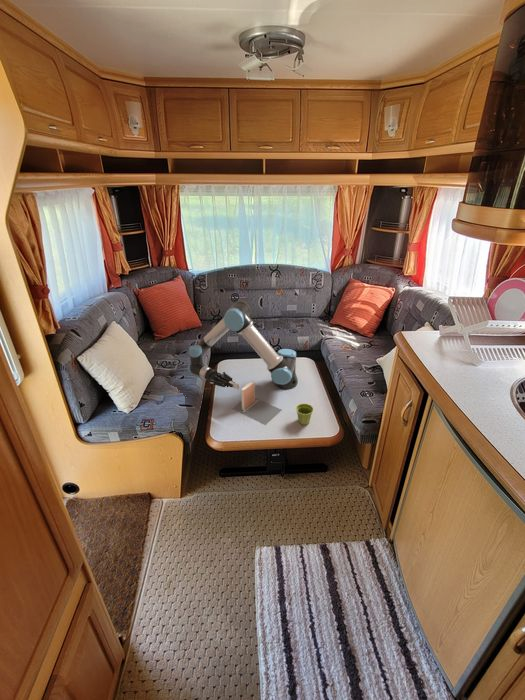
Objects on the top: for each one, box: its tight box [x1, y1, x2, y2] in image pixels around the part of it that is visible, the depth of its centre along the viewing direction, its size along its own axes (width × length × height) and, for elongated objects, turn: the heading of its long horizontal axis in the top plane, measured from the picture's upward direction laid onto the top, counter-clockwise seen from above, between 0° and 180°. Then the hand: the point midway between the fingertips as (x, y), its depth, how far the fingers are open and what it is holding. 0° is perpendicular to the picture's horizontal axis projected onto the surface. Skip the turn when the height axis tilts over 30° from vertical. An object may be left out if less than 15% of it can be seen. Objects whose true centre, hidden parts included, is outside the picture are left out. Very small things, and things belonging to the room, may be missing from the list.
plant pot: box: [295, 403, 314, 426], centre depth 187 cm, size 9×9×9 cm
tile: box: [240, 380, 256, 410], centre depth 197 cm, size 2×10×14 cm, turn 143°
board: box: [231, 397, 283, 426], centre depth 197 cm, size 24×16×2 cm, turn 53°
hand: (238, 387), depth 199 cm, fingers closed
